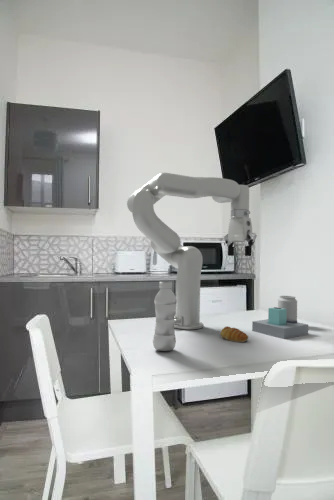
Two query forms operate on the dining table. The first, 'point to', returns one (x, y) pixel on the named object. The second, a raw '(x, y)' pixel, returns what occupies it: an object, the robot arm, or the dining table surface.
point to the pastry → (233, 334)
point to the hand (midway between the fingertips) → (239, 255)
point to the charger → (277, 316)
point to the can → (288, 306)
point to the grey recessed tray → (280, 328)
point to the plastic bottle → (165, 317)
